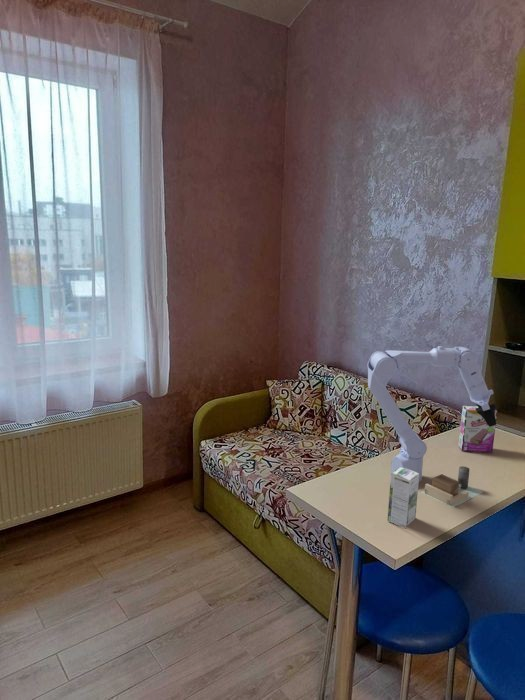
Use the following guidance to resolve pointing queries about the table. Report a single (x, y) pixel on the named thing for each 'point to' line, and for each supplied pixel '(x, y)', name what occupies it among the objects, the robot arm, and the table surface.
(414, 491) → the syrup box
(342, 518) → the table surface
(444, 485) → the brown piece
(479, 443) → the candy bar box
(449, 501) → the lane board
